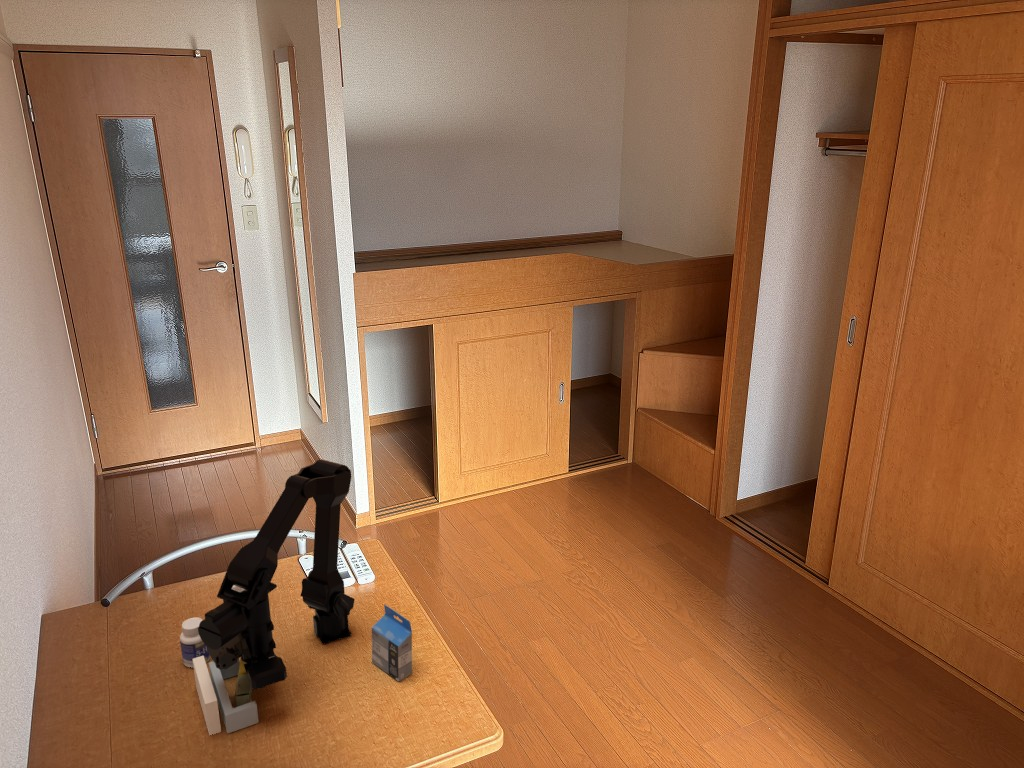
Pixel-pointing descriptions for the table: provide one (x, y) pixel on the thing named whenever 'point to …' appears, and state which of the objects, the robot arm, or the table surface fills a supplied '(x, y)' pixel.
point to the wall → (206, 695)
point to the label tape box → (392, 645)
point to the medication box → (243, 687)
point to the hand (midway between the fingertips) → (261, 686)
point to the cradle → (231, 716)
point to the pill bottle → (192, 642)
